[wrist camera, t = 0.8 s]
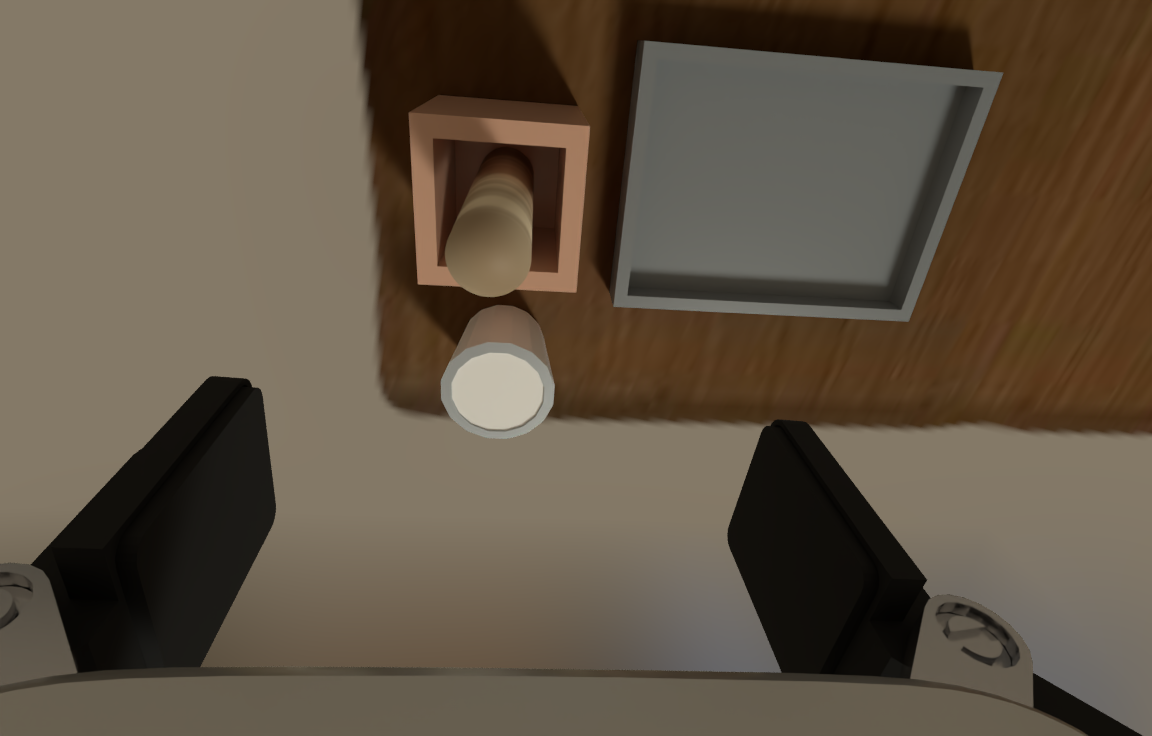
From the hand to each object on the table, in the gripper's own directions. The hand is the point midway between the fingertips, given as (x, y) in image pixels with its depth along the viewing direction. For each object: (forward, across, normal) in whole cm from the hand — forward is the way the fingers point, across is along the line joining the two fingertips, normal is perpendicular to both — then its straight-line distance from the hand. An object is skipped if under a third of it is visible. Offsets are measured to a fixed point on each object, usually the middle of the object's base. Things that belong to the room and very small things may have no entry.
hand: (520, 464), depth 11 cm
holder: (+29, +1, 0) cm, 29 cm away
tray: (+28, -16, -1) cm, 33 cm away
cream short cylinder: (+29, 0, +12) cm, 31 cm away
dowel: (+28, +1, 0) cm, 28 cm away
